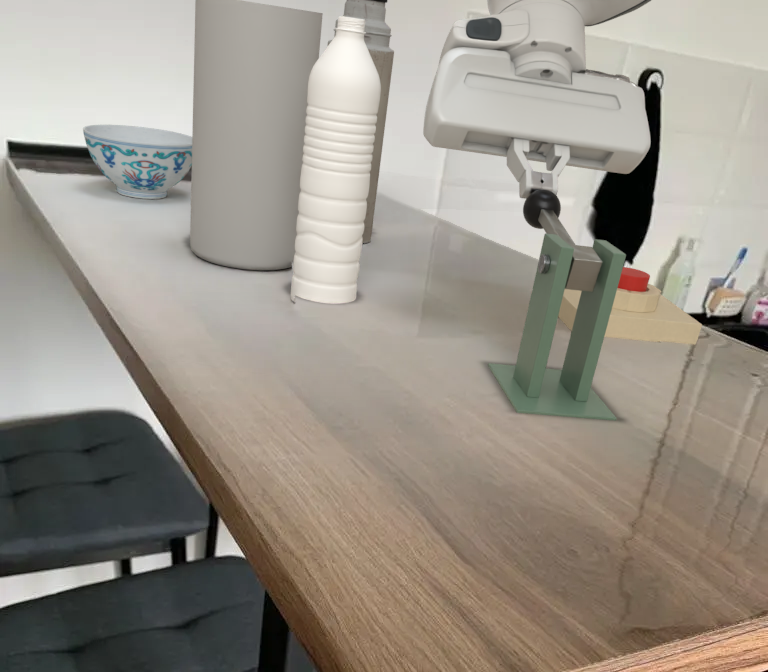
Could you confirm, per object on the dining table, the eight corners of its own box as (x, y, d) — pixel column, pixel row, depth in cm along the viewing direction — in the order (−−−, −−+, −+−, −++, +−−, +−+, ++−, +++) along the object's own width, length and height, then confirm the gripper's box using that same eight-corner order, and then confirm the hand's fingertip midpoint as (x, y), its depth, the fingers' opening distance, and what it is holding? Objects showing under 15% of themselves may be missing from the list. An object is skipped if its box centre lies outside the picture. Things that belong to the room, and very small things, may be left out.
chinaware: (180, 211, 114) (181, 148, 110) (67, 194, 114) (64, 131, 110) (208, 193, 127) (210, 137, 123) (107, 177, 127) (106, 121, 123)
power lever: (515, 218, 76) (524, 181, 74) (550, 222, 77) (560, 186, 75) (557, 293, 65) (569, 252, 63) (597, 297, 65) (610, 257, 63)
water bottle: (354, 316, 84) (390, 23, 71) (287, 308, 83) (312, 11, 71) (355, 292, 91) (387, 23, 79) (293, 284, 91) (316, 12, 78)
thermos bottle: (317, 226, 117) (339, -13, 103) (374, 235, 117) (404, -3, 103) (304, 237, 110) (327, -17, 97) (365, 247, 110) (396, -6, 96)
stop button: (636, 285, 91) (641, 268, 90) (651, 296, 88) (656, 279, 87) (601, 281, 91) (605, 264, 90) (614, 292, 87) (619, 275, 86)
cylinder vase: (166, 252, 95) (169, -11, 83) (231, 237, 105) (242, 1, 93) (262, 279, 91) (280, 6, 79) (320, 260, 101) (344, 16, 89)
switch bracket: (485, 376, 74) (516, 223, 68) (573, 383, 75) (612, 234, 69) (513, 424, 65) (552, 254, 59) (613, 432, 67) (661, 266, 60)
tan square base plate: (651, 321, 97) (664, 277, 95) (692, 355, 88) (708, 307, 85) (541, 310, 95) (552, 264, 93) (572, 343, 86) (584, 293, 83)
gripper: (627, 103, 83) (634, 230, 80) (420, 71, 80) (417, 202, 76) (659, 54, 77) (667, 190, 74) (436, 17, 74) (434, 157, 70)
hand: (538, 196), depth 75 cm, fingers closed, pressing on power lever
